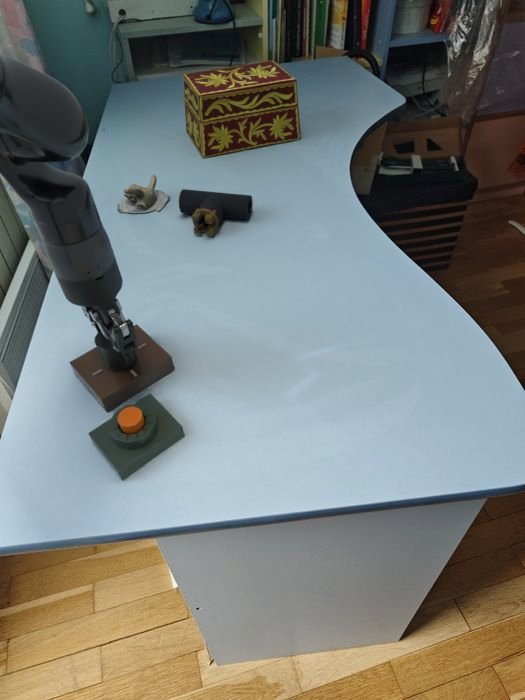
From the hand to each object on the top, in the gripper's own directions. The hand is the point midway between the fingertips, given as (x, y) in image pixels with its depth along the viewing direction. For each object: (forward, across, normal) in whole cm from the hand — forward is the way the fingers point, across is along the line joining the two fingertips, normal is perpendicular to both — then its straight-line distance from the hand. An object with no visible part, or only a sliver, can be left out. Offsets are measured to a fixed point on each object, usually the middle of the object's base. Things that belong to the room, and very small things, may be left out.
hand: (119, 352), depth 72 cm
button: (+1, +12, -5) cm, 13 cm away
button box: (+5, +12, -5) cm, 14 cm away
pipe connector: (+5, -25, +35) cm, 43 cm away
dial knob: (+1, 0, 0) cm, 1 cm away
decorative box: (+5, -55, +67) cm, 87 cm away
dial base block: (+4, 0, 0) cm, 4 cm away
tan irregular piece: (+5, -43, +29) cm, 52 cm away
